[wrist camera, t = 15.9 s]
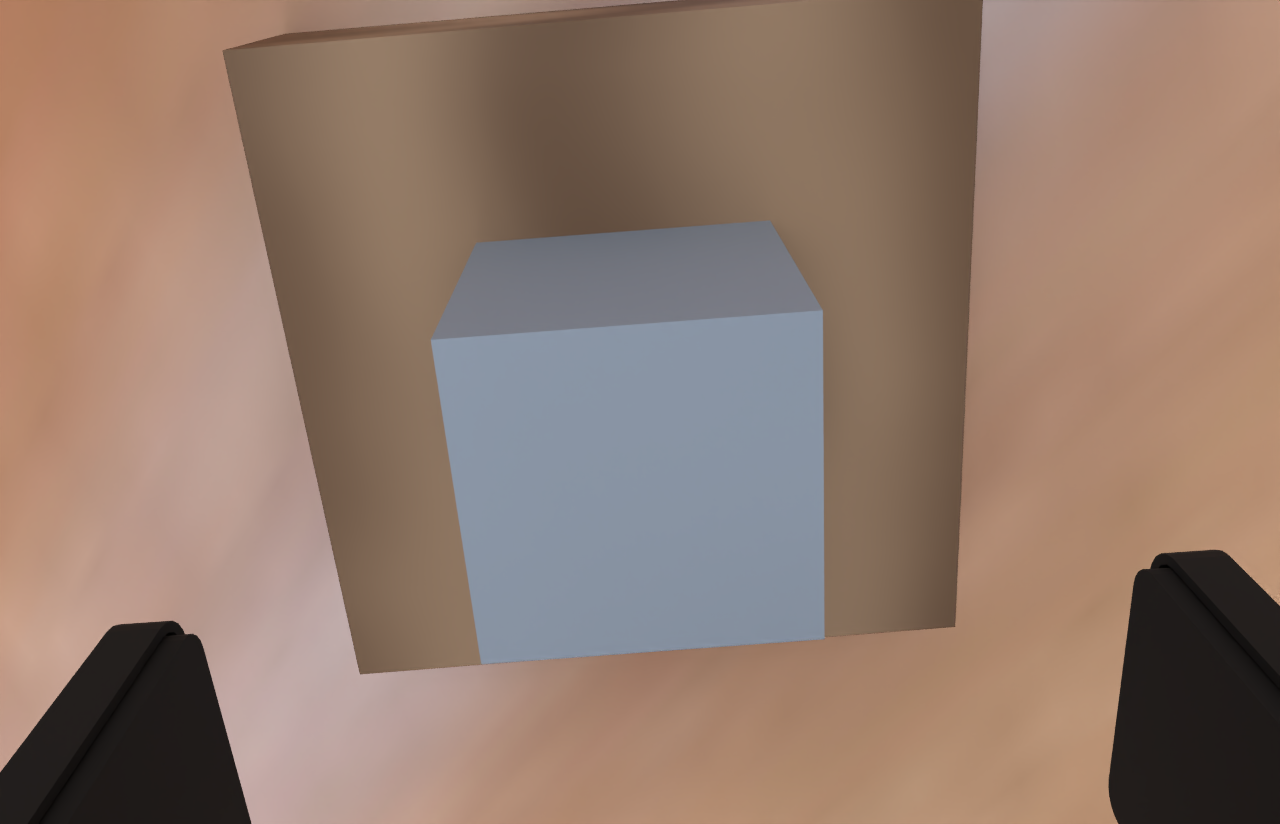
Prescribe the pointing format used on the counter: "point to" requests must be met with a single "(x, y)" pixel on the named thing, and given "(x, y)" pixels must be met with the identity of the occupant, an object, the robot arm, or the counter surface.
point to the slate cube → (636, 441)
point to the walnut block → (616, 202)
